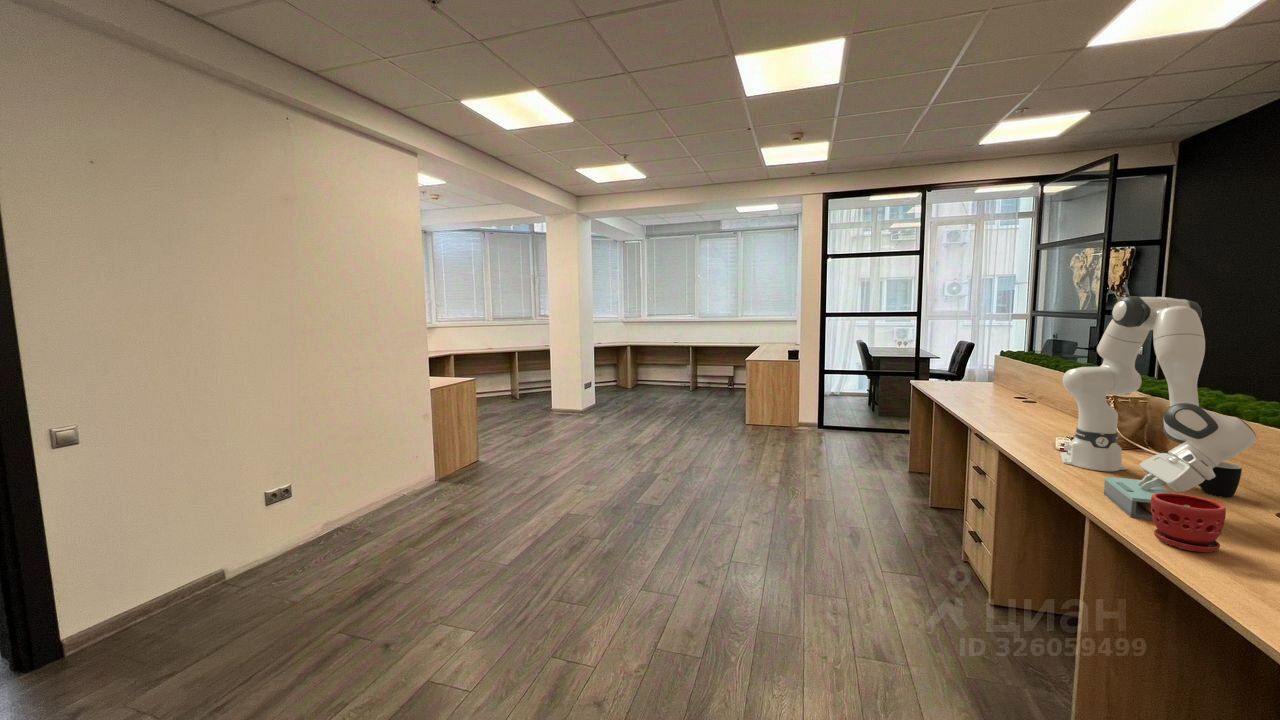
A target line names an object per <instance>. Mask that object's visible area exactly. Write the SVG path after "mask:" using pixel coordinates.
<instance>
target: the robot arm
mask: <svg viewBox="0 0 1280 720" xmlns="http://www.w3.org/2000/svg"><path fill="white" fill-rule="evenodd" d="M1202 314H1203V313H1202V308H1201V306H1200V305H1199V303H1197V302H1196V301H1192V300H1189V299H1185V298H1180V299H1179V298H1173V297H1165V296H1138V295H1137V296H1136V295H1133V296H1130V295H1129V296H1125V297H1121V298H1119V300H1117V301H1116V302H1115V303H1114V305H1113V307H1112V309H1111V318H1112V319H1111V320H1110V322H1109V323H1108V325H1107V327H1106V329H1105V330H1104V333H1103V334H1102V336H1101V339H1100V341H1099V343H1098V345H1097V346H1096V352H1097V354H1098V355H1099V357H1101V358H1102V359H1103V361H1102V364H1101V365H1100V366H1081V367H1076V368H1072V369H1068V370H1067V371H1066V372H1064V374H1063V376H1062V380H1061V381H1062V386H1063V388H1064V389H1065V390H1066V391H1067V392H1068V393H1069V394H1070V395H1072V397H1073V398H1074V400H1075V402H1076V404H1077V408H1078V423H1077V427H1076V430H1075V432H1074V438H1073V439H1072V440H1071V441H1070V442H1069V443H1068V444H1064V446H1063V450H1064V451H1065V452H1064V451H1063V452H1060V457H1061V460H1062V463H1063V464H1067V465H1070V466H1076V467H1078V468H1082V469H1087V470H1092V471H1099V472H1100V471H1101V472H1119V471H1120V470H1121V471H1123V470H1125V471H1126V470H1127V466H1126V465H1124V464H1122V462H1123V461H1122V460H1123V457H1122V455H1123V454H1122V453H1123V451H1122V447H1121V446H1120V445H1119V444H1118V439H1119V433H1118V432H1117V431H1118V420H1119V413H1118V411H1117V410H1116V409H1115V408H1113V407H1112V406H1110V405H1109V404H1108V401H1107V396H1122V395H1128V394H1131V393H1132V394H1133V393H1135V392H1137V391H1138V390H1139V389H1140V388H1141V387H1142V384H1143V383H1142V376H1141V374H1140V373H1139V372H1138V371H1137V370H1136V366H1135V365H1136V360H1137V357H1138V355H1139V353H1140V351H1141V349H1142V347H1143V346H1144V343H1145V341H1146V339H1147V337H1148V335H1149V333H1150V331H1152V341H1153V350H1154V353H1155V356H1156V359H1157V362H1158V364H1159V366H1160V368H1161V370H1162V373H1163V375H1164V377H1165V380H1166V383H1167V387H1168V388H1167V389H1168V400H1169V407H1168V408H1167V409H1166V410H1165V411H1164V413H1163V416H1162V417H1163V429H1162V430H1163V432H1164V434H1165V435H1166V437H1167V438H1168V439H1170V440H1171V441H1172V442H1174V443H1177V444H1179V445H1177V446H1175V447H1173V448H1172V449H1170V450H1168V452H1167V453H1165V452H1160V453H1157V454H1155V455H1152V456H1151V457H1148V458H1147V459H1144V460H1142V461H1141V462H1140V463H1139V464H1138V467H1139V468H1141V469H1142V471H1144V473H1146V474H1145V476H1143V478H1142V479H1140V480H1141V481H1140V482H1138V483H1137V484H1138V485H1139V486H1140V487H1141V488H1143V489H1144V490H1149V489H1151V488H1154V487H1158V486H1163V485H1165V486H1166V487H1168V488H1170V489H1172V490H1173V491H1175V492H1177V493H1183V492H1186V491H1189V490H1190V489H1193V488H1194V487H1197V486H1198V485H1199V484H1201V483H1202V482H1204V480H1205V479H1206V480H1211V479H1213V478H1214V477H1215V474H1214V472H1213V469H1212V468H1214V467H1216V466H1217V465H1218V464H1219V463H1220V462H1224V461H1226V460H1228V459H1233V458H1234V457H1236V456H1237V455H1240V454H1241V453H1242V452H1244V451H1246V450H1247V449H1249V448H1250V447H1252V446H1253V445H1254V444H1255V443H1256V442H1257V435H1256V432H1255V431H1254V429H1253V428H1252V427H1251V426H1250V425H1249V424H1248V423H1247V422H1245V420H1242V419H1241V418H1239V417H1238V416H1228V415H1223V414H1219V413H1217V412H1213V411H1211V410H1209V409H1208V410H1207V409H1205V408H1202V407H1201V406H1200V403H1199V394H1198V393H1199V392H1198V380H1199V375H1200V373H1201V368H1202V366H1203V361H1204V357H1205V353H1206V338H1205V337H1206V336H1205V333H1204V328H1203V324H1202V321H1201V318H1202V316H1203V315H1202Z"/></svg>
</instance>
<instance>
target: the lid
mask: <svg viewBox="0 0 1280 720" xmlns="http://www.w3.org/2000/svg"><path fill="white" fill-rule="evenodd" d="M1105 480H1106V481H1107V482H1109V483H1110V484H1111V485H1112V486H1114V487H1115V488H1116V489H1118V490H1119V491H1120V492H1121V493H1123V494H1124V495H1125V496H1126V497H1128V498H1129V499H1130V500H1132V501H1137V502H1147V503H1151V496H1152V495H1153V494H1156V493H1173V492H1172V491H1170V490H1169V489H1168V488H1166V487H1165V486H1163V485H1161V486H1158V487H1154V488H1151V489H1149V490H1144V489H1143V488H1141V487H1140V486H1139V485H1138V484H1137V483H1138V482H1140V481H1141V480H1142V479H1133V478H1126V477H1125V478H1124V477H1113V476H1112V477H1110V476H1105V477H1104V481H1105ZM1184 506H1187V507H1190V506H1189V505H1184Z"/></svg>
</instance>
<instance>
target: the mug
mask: <svg viewBox="0 0 1280 720" xmlns="http://www.w3.org/2000/svg"><path fill="white" fill-rule="evenodd" d="M1212 469H1213V472H1214V474H1215V477H1214V478H1213V479H1211V480H1206V479H1205V480H1204V482H1202V483H1201V484H1199V485H1197V486H1198V487H1200V489H1201V491H1202V492H1203V493H1204V492H1205V494H1207V493H1208V494H1207V495H1210V494H1212V495H1211V496H1214V495H1216V496H1215V497H1219V496H1222V497H1221V498H1232V497H1234V495H1235V494H1236V492H1237V490H1238V487H1239V485H1240V480H1241V476H1242V470H1243V467H1242V466H1240V465H1238V464H1235V463H1231V462H1227V461H1226V462H1225V461H1222V462H1220V463H1219V464H1218V465H1217V466H1216V467H1214V468H1212Z"/></svg>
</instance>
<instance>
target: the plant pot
mask: <svg viewBox="0 0 1280 720" xmlns="http://www.w3.org/2000/svg"><path fill="white" fill-rule="evenodd" d="M1184 505H1189V506H1188V507H1187V506H1184ZM1151 511H1152V517H1153V520H1152V521H1153V523H1154V525H1155V527H1156V529H1154V530H1153V534H1154V536H1155V538H1157V539H1158V540H1159V541H1161V542H1163V543H1165V544H1166V545H1168V544H1169V545H1168V546H1172V547H1175V548H1178V549H1181V550H1187V551H1192V552H1198V553H1211V552H1215V551H1217V550H1219V549H1220V547H1221V544H1220V543H1219V541H1217V539H1219V537H1220V535H1222V532H1223V529H1224V527H1225V522H1226V517H1227V516H1226V515H1227V508H1226V506H1225V505H1223V504H1222V503H1219V502H1217V501H1216V500H1215V501H1214V500H1211V499H1208V498H1203V497H1200V496H1195V495H1194V496H1193V495H1189V494H1182V493H1173V492H1172V493H1156V494H1153V495H1152V496H1151Z"/></svg>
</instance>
